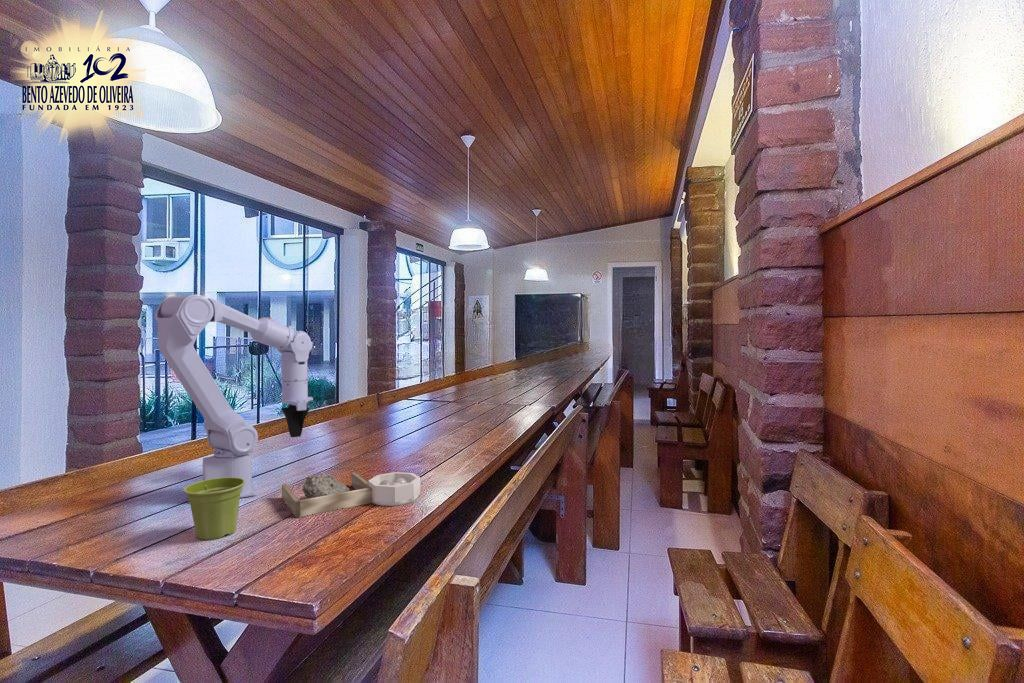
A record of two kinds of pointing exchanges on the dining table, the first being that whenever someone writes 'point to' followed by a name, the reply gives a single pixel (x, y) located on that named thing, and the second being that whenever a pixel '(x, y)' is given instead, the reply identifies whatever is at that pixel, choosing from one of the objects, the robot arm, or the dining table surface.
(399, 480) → the pebble
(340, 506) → the tray frame
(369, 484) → the bowl
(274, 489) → the dining table surface
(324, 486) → the rock sample
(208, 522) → the plant pot
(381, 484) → the pebble
